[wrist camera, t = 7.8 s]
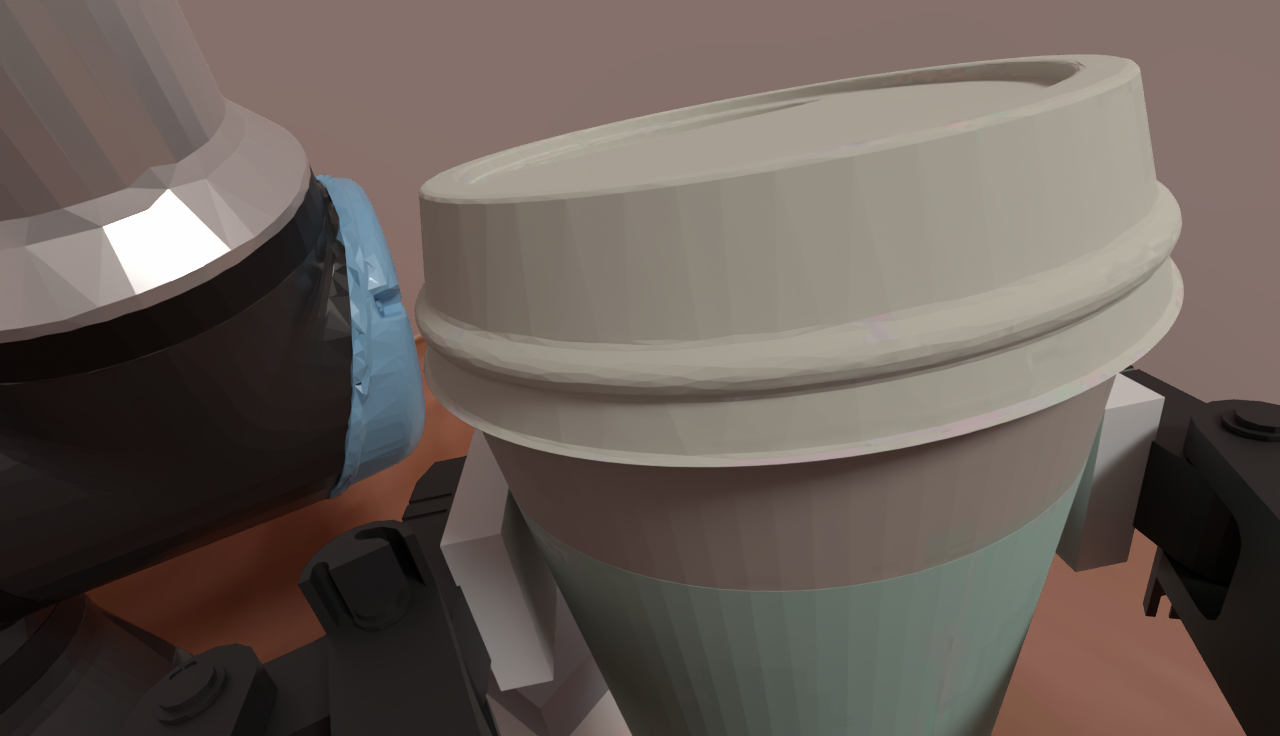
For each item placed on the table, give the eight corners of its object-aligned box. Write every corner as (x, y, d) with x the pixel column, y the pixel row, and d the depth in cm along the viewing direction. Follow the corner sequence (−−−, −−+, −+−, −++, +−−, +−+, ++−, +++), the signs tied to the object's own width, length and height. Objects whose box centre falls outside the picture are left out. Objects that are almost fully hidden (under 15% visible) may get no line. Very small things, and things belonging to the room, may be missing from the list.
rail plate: (574, 823, 22) (547, 755, 20) (366, 632, 32) (337, 577, 30) (869, 432, 40) (868, 379, 38) (677, 390, 50) (669, 346, 48)
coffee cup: (971, 585, 15) (1015, 43, 10) (1166, 1117, 7) (1793, 26, 2) (638, 579, 17) (529, 132, 12) (533, 986, 10) (124, 273, 4)
